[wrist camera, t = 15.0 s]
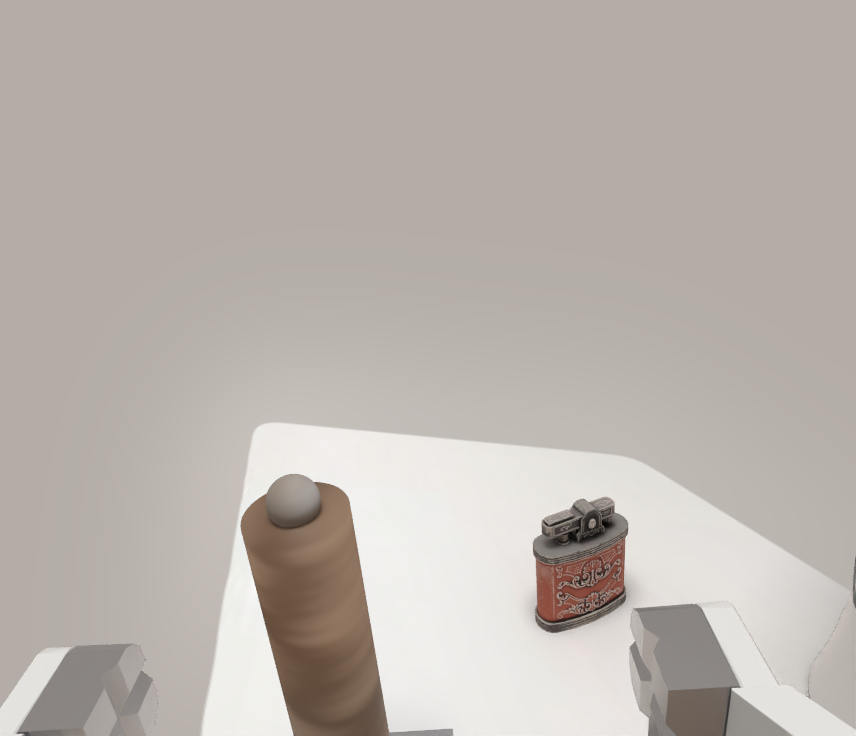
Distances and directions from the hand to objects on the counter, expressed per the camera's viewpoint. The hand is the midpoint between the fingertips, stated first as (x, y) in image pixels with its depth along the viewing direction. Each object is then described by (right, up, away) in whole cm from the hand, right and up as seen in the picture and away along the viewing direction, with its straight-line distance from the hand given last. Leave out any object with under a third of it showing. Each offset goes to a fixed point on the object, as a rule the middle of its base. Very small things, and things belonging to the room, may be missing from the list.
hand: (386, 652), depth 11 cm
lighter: (+13, -15, +43) cm, 47 cm away
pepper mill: (-3, -23, +27) cm, 36 cm away
